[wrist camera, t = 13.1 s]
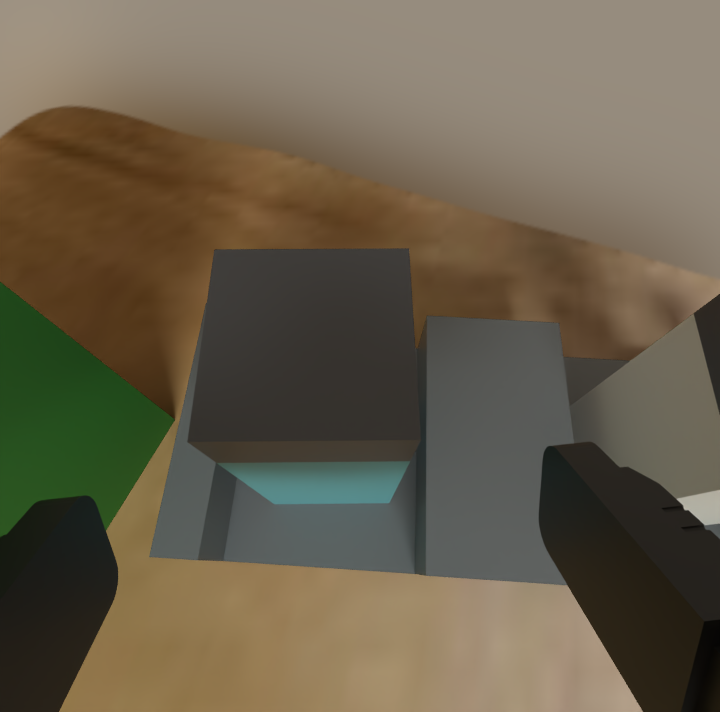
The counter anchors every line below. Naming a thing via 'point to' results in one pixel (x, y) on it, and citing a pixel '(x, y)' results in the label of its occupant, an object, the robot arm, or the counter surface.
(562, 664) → the counter surface
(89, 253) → the counter surface
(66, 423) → the hardback book
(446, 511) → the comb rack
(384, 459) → the grey-topped teal block
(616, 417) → the ivory plug
